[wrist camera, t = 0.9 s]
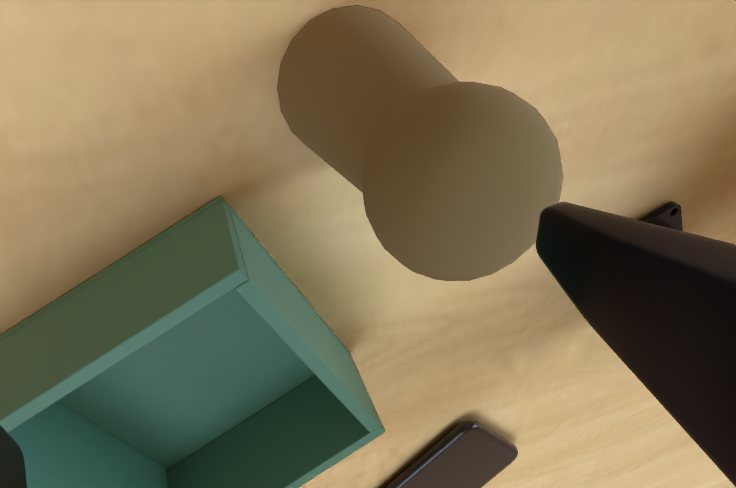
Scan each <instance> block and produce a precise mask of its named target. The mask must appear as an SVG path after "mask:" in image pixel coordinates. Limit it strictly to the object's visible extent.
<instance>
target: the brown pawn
mask: <svg viewBox="0 0 736 488" xmlns="http://www.w3.org/2000/svg"><path fill="white" fill-rule="evenodd" d="M277 90H278V96H279V102H280V108H281V112H282V114H283V116H284V118H285V120H286V122H287V124H288V126H289V127H290V129H291V131H292V132H293V133H294V134H295V135H296V136H297V137H298V138H299V139H300V140H301V141H302V142H303V143H304V144H305V145H306V146H308V147H309V148H310V149H311V150H312V151H313V152H315V153H316V154H317V155H318V156H319V157H321V158H322V159H323V160H324V161H325V162H327V163H328V164H329V165H330V166H331V167H333V168H334V169H335V170H336V171H337V172H339V173H340V174H341V175H342V176H343V177H345V178H346V179H347V180H348V181H349V182H351V183H352V184H353V185H354V186H355V187H357V188H358V189H359V190H360V191H361V192H362V193H363V197H364V205H365V211H366V215H367V217H368V219H369V222H370V224H371V226H372V228H373V230H374V232H375V234H376V236H377V238H378V239H379V241H380V242H381V244H382V246H383V247H384V249H386V250H387V251H388V252H389V253H390V254H391V255H392V256H393V257H395V258H396V259H397V260H398V261H399V262H400V263H401V264H403V265H404V266H406V267H407V268H409V269H410V270H411V271H413V272H416V273H418V274H421V275H424V276H427V277H430V278H433V279H437V280H445V281H470V280H473V279H477V278H480V277H484V276H487V275H491V274H493V273H495V272H497V271H498V270H500V269H502V268H504V267H505V266H507V265H509V264H511V263H512V262H514V261H515V260H516V259H518V258H519V257H520V256H521V255H522V254H523V253H524V252H525V251H527V250H528V249H529V248H530V247H531V246H532V245H533V244H534V243H535V242H536V238H537V232H538V225H539V218H540V214H541V212H542V210H543V209H545V208H546V207H549V206H552V205H555V204H557V203H558V202H559V200H560V194H561V188H562V182H563V171H562V164H561V158H560V152H559V147H558V141H557V139H556V137H555V136H554V134H553V132H552V131H551V129H550V127H549V126H548V124H547V122H546V121H545V119H544V118H543V117H542V115H541V114H540V113H539V112H538V111H537V109H536V108H535V107H533V106H532V105H530V104H529V103H527V102H526V101H524V100H523V99H521V98H520V97H518V96H517V95H515V94H514V93H512V92H510V91H508V90H506V89H504V88H502V87H498V86H492V85H487V84H481V83H476V82H459V81H458V80H457V79H456V78H455V77H454V76H453V75H452V74H451V73H450V72H449V71H448V70H447V69H446V68H445V67H444V66H443V65H442V64H440V63H439V62H438V61H437V60H436V59H435V58H434V57H433V56H432V55H431V54H430V53H429V52H428V51H427V50H426V49H425V48H424V47H423V46H422V45H421V44H420V43H419V42H418V41H417V40H416V39H415V38H414V37H413V36H412V35H411V34H410V33H409V32H408V31H407V30H406V29H405V28H404V27H402V26H401V25H400V24H399V23H398V22H396V21H395V20H394V19H392V18H391V17H389V16H388V15H386V14H385V13H383V12H382V11H380V10H375V9H371V8H367V7H362V6H358V5H356V6H349V7H342V8H334V9H331V10H329V11H328V12H326V13H324V14H322V15H320V16H318V17H316V18H314V19H312V20H310V21H309V22H308V23H307V25H306V26H305V27H304V28H303V29H302V30H301V31H300V32H299V33H298V34H297V35H296V36H295V37H294V38H293V39H292V41H291V43H290V45H289V47H288V49H287V51H286V53H285V55H284V57H283V59H282V61H281V65H280V72H279V79H278V86H277Z"/></svg>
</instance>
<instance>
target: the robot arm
mask: <svg viewBox="0 0 736 488" xmlns="http://www.w3.org/2000/svg"><path fill="white" fill-rule="evenodd" d="M536 249H537V253H538V255H539V257H540V258H541V260H542V261H543V262H544V264H545V265H546V267H547V268H548V269H549V271H550V272H551V273H552V275H553V276H554V277H555V279H556V280H557V282H558V283H559V284H560V286H561V287H562V288H563V290H564V291H565V293H566V294H567V295H568V297H569V298H570V299H571V301H572V302H573V304H574V305H575V306H576V308H577V309H578V310H579V312H580V313H581V314H582V315H583V317H584V318H585V319H586V320H587V322H588V323H589V324H590V325H591V326H592V327H593V329H594V330H595V331H596V332H597V333H598V334H599V335H600V336H601V338H602V339H603V340H604V341H605V342H606V343H607V344H608V345H609V346H610V348H611V349H612V350H613V351H614V352H615V353H616V354H617V355H618V357H619V358H620V359H621V360H622V361H623V362H624V363H625V364H626V365H627V367H628V368H629V369H630V370H631V371H632V372H633V373H634V374H635V375H636V377H637V378H638V379H639V380H640V381H641V382H642V383H643V384H644V385H645V387H646V388H647V389H648V390H649V391H650V392H651V393H652V394H653V395H654V397H655V398H656V399H657V400H658V401H659V402H660V403H661V404H662V405H663V407H664V408H665V409H666V410H667V411H668V412H669V413H670V414H671V415H672V417H673V418H674V419H675V420H676V421H677V422H678V423H679V424H680V425H681V427H682V428H683V429H684V430H685V431H686V432H687V433H688V434H689V435H690V437H691V438H692V439H693V440H694V441H695V442H696V443H697V444H698V445H699V447H700V448H701V449H702V450H703V451H704V452H705V453H706V454H707V455H708V457H709V458H710V459H711V460H712V461H713V462H714V463H715V464H716V465H717V467H718V468H719V469H720V470H721V471H722V472H723V473H724V474H725V475H726V477H727V478H728V479H729V480H730V481H731V482H732V483H733V484H734V485H735V487H736V245H735V244H731V243H727V242H723V241H719V240H715V239H711V238H707V237H703V236H699V235H695V234H691V233H687V232H683V231H682V216H681V206H680V205H678V204H676V203H675V202H669V203H667V204H666V205H664V206H663V207H661V208H660V209H658V210H656V211H655V212H653V213H652V214H650V215H649V216H647V217H645V218H644V219H642V220H641V221H639V220H635V219H631V218H627V217H623V216H619V215H615V214H611V213H607V212H603V211H599V210H595V209H591V208H587V207H583V206H579V205H575V204H571V203H567V202H561V203H557V204H555V205H552V206H549V207H546V208H545V209H543V210H542V212H541V214H540V218H539V225H538V232H537V238H536ZM0 488H27V481H26V471H25V461H24V456H23V453H22V450H21V448H20V446H19V445H18V444H17V442H16V441H15V440H14V439H13V438H12V437H11V436H10V435H9V434H8V433H7V432H6V431H5V429H4V428H3V427H2V426H1V425H0Z"/></svg>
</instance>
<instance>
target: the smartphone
mask: <svg viewBox="0 0 736 488" xmlns="http://www.w3.org/2000/svg"><path fill="white" fill-rule="evenodd" d="M517 455H518V450H517V448H516V447H515V445H513V444H512V443H510V442H509V441H507V440H506V439H504V438H502V437H501V436H499V435H498V434H496V433H494V432H493V431H491V430H489V429H488V428H486V427H485V426H483V425H481V424H480V423H478V422H476V421H472V420H469V421H465V422H463V423H461V424H459V425H458V426H457V427H456V428H454V429H453V430H452V431H451V432H450V433H448V434H447V435H446V436H445V437H444V438H443V439H441V440H440V441H439V442H438V443H437V444H436V445H434V446H433V447H432V448H431V449H430V450H428V451H427V452H426V453H425V454H424V455H423V456H421V457H420V458H419V459H418V460H417V461H416V462H414V463H413V464H412V465H411V466H410V467H408V468H407V469H406V470H405V471H404V472H403V473H401V474H400V475H399V476H398V477H397V478H396V479H394V480H393V481H392V482H391V483H390V484H389V485H387V486H386V487H385V488H481V487H483V486H484V485H485V484H486V483H487V482H489V481H490V480H491V479H492V478H494V477H495V476H496V475H497V474H498V473H500V472H501V471H502V470H503V469H504V468H506V467H507V466H508V465H509V464H511V463H512V462H513V461H514V460H515V459H516V457H517Z"/></svg>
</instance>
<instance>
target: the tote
mask: <svg viewBox="0 0 736 488" xmlns="http://www.w3.org/2000/svg"><path fill="white" fill-rule="evenodd" d="M0 425H1V426H2V427H3V428H4V429H5V431H6V432H7V433H8V434H9V435H10V436H11V437H12V438H13V439H14V440H15V441H16V442H17V444H18V445H19V446H20V448H21V450H22V453H23V456H24V461H25V471H26V481H27V488H298V487H300V486H302V485H303V484H305V483H306V482H308V481H309V480H311V479H313V478H314V477H316V476H317V475H319V474H320V473H322V472H324V471H325V470H327V469H328V468H330V467H331V466H333V465H334V464H336V463H338V462H339V461H341V460H342V459H344V458H345V457H347V456H349V455H350V454H352V453H353V452H355V451H356V450H358V449H359V448H361V447H363V446H364V445H366V444H367V443H369V442H370V441H372V440H374V439H375V438H377V437H378V436H380V435H381V434H383V433H384V432H385V429H384V427H383V425H382V423H381V420H380V418H379V416H378V414H377V412H376V409H375V407H374V405H373V403H372V400H371V398H370V396H369V394H368V392H367V389H366V387H365V385H364V383H363V381H362V378H361V376H360V374H359V372H358V369H357V367H356V365H355V363H354V361H353V359H352V356H351V354H350V352H349V351H348V350H347V349H346V347H345V346H344V345H343V344H342V343H341V341H340V340H339V339H338V338H337V337H336V335H335V334H334V333H333V332H332V330H331V329H330V328H329V327H328V326H327V324H326V323H325V322H324V321H323V319H322V318H321V317H320V316H319V315H318V313H317V312H316V311H315V310H314V309H313V307H312V306H311V305H310V304H309V302H308V301H307V300H306V299H305V298H304V296H303V295H302V294H301V293H300V291H299V290H298V289H297V288H296V287H295V285H294V284H293V283H292V282H291V281H290V279H289V278H288V277H287V276H286V274H285V273H284V272H283V271H282V270H281V268H280V267H279V266H278V265H277V263H276V262H275V261H274V260H273V259H272V257H271V256H270V255H269V254H268V253H267V251H266V250H265V249H264V248H263V246H262V245H261V244H260V243H259V242H258V240H257V239H256V238H255V237H254V235H253V234H252V233H251V232H250V231H249V229H248V228H247V227H246V226H245V225H244V223H243V222H242V221H241V220H240V218H239V217H238V216H237V215H236V214H235V212H234V211H233V210H232V209H231V207H230V206H229V205H228V204H227V203H226V201H225V200H224V199H223V198H222V197H221V196H219V197H217V198H216V199H214V200H213V201H211V202H209V203H208V204H206V205H205V206H203V207H202V208H200V209H198V210H197V211H195V212H194V213H192V214H190V215H189V216H187V217H186V218H184V219H183V220H181V221H179V222H178V223H176V224H175V225H173V226H172V227H170V228H168V229H167V230H165V231H164V232H162V233H161V234H159V235H157V236H156V237H154V238H153V239H151V240H149V241H148V242H146V243H145V244H143V245H142V246H140V247H138V248H137V249H135V250H134V251H132V252H131V253H129V254H127V255H126V256H124V257H123V258H121V259H120V260H118V261H116V262H115V263H113V264H112V265H110V266H109V267H107V268H105V269H104V270H102V271H101V272H99V273H97V274H96V275H94V276H93V277H91V278H90V279H88V280H86V281H85V282H83V283H82V284H80V285H79V286H77V287H75V288H74V289H72V290H71V291H69V292H68V293H66V294H64V295H63V296H61V297H60V298H58V299H56V300H55V301H53V302H52V303H50V304H49V305H47V306H45V307H44V308H42V309H41V310H39V311H38V312H36V313H34V314H33V315H31V316H30V317H28V318H27V319H25V320H23V321H22V322H20V323H19V324H17V325H16V326H14V327H12V328H11V329H9V330H8V331H6V332H4V333H3V334H1V335H0Z"/></svg>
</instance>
